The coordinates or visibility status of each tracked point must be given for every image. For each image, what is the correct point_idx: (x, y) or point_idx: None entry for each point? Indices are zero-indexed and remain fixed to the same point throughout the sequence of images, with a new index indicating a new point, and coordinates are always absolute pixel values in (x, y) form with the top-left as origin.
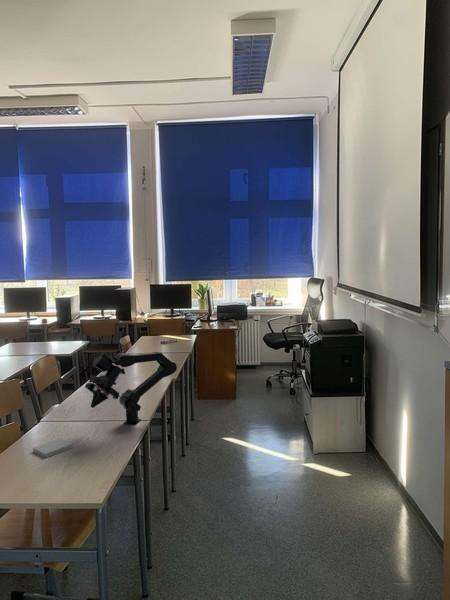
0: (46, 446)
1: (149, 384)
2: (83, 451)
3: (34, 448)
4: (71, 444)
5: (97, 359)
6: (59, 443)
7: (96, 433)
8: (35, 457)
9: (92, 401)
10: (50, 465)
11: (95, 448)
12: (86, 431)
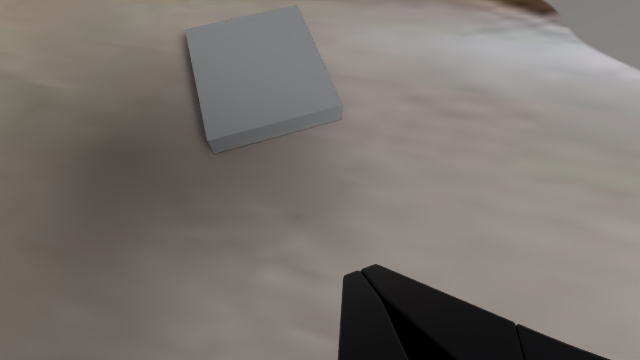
0: (273, 44)
1: None
2: (119, 187)
3: (287, 8)
4: (206, 136)
5: None
6: (266, 91)
7: None
8: None
9: (431, 306)
10: (104, 48)
11: (98, 256)
12: None
